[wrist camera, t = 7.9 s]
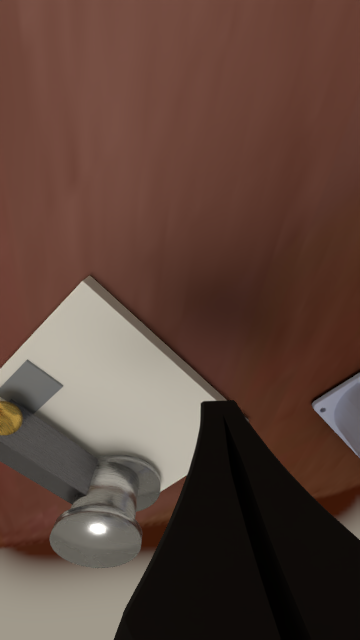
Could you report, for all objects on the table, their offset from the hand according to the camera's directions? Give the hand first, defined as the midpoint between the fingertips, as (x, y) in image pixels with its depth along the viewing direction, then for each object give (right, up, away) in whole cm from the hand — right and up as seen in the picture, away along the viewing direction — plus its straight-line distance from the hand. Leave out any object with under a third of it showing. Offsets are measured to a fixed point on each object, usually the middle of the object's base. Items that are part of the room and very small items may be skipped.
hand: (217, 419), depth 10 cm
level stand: (-8, -5, +12) cm, 15 cm away
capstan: (-10, -7, +11) cm, 17 cm away
